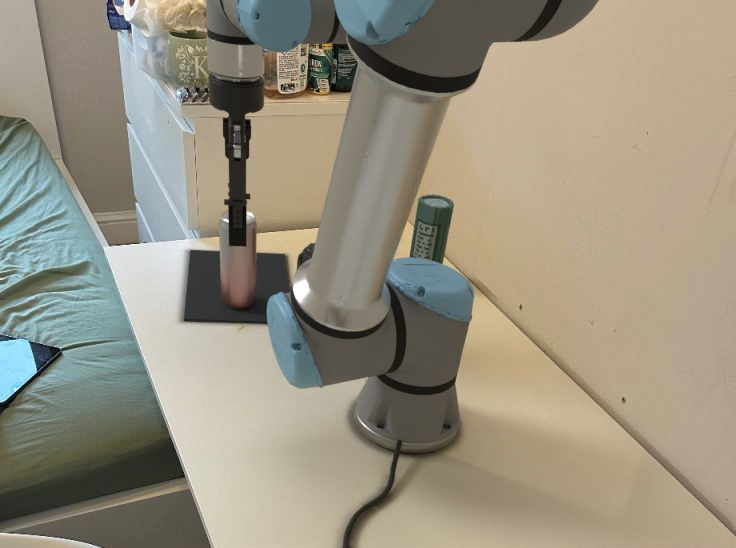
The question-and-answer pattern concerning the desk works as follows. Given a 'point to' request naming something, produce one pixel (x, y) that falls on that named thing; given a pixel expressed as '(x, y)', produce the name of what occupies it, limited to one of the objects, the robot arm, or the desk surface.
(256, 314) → the mat
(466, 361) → the desk surface
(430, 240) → the can
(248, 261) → the beverage can
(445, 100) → the robot arm
